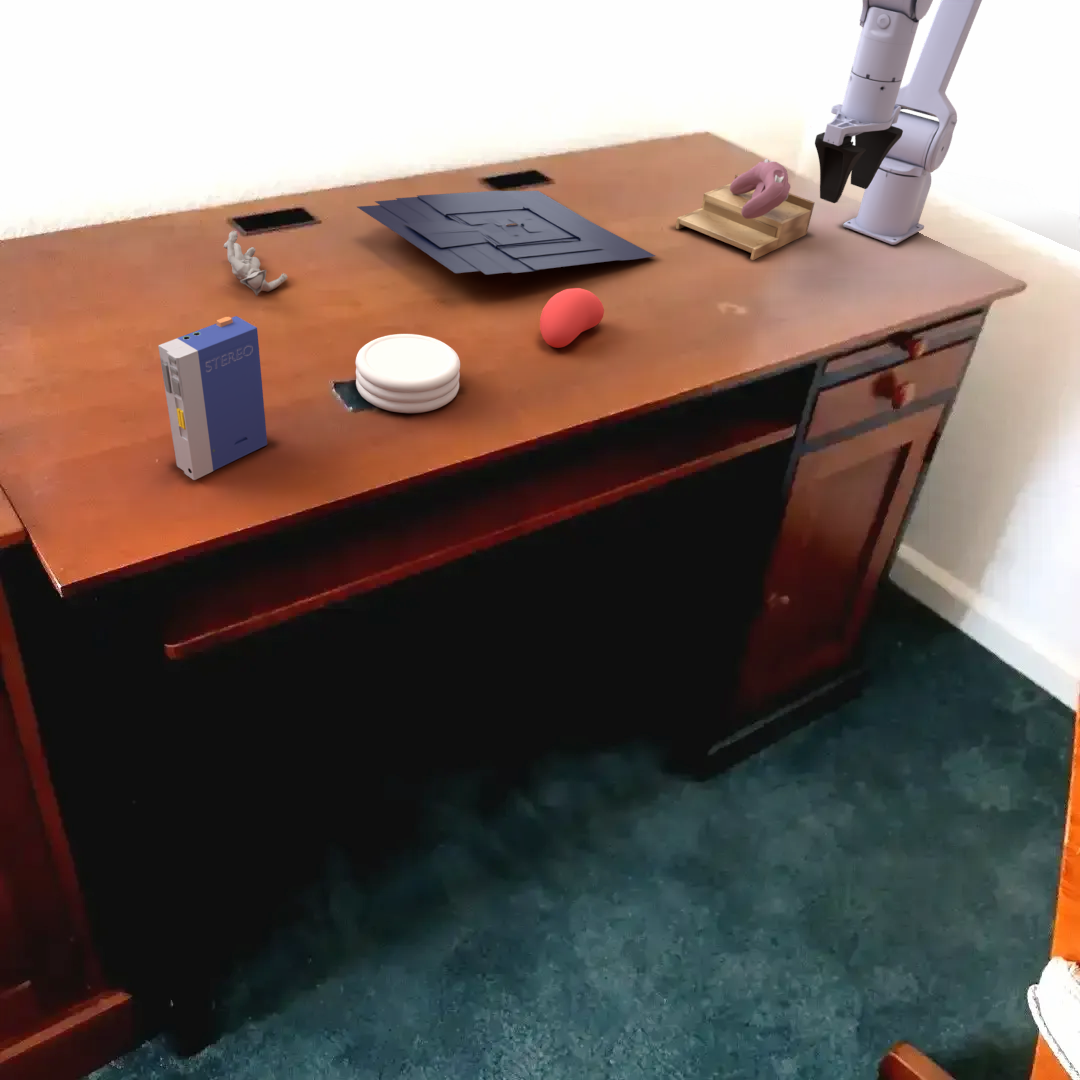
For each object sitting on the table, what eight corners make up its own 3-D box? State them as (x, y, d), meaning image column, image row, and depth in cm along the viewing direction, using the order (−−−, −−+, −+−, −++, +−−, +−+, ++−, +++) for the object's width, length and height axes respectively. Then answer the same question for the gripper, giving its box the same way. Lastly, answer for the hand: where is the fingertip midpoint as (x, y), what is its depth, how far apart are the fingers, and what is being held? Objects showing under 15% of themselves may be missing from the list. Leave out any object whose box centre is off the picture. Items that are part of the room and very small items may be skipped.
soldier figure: (276, 265, 124) (306, 277, 114) (251, 299, 124) (279, 313, 114) (221, 221, 120) (248, 229, 110) (195, 255, 120) (220, 266, 110)
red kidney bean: (520, 341, 116) (524, 309, 110) (575, 293, 119) (583, 260, 113) (554, 371, 115) (561, 341, 109) (609, 323, 118) (618, 290, 112)
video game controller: (766, 233, 138) (801, 188, 134) (739, 216, 136) (774, 169, 132) (751, 204, 145) (785, 160, 142) (725, 187, 144) (758, 142, 140)
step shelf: (730, 205, 150) (737, 173, 147) (806, 234, 144) (814, 202, 141) (675, 228, 141) (681, 195, 138) (753, 260, 135) (761, 226, 133)
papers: (346, 223, 130) (348, 193, 128) (532, 209, 148) (537, 183, 146) (461, 303, 116) (466, 272, 114) (652, 277, 134) (659, 249, 132)
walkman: (247, 432, 95) (235, 311, 88) (267, 445, 94) (257, 323, 87) (173, 467, 90) (153, 342, 83) (193, 481, 89) (175, 355, 82)
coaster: (413, 352, 109) (413, 322, 107) (479, 393, 104) (481, 361, 102) (335, 383, 103) (333, 351, 101) (401, 427, 98) (402, 395, 96)
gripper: (874, 56, 126) (843, 170, 134) (813, 75, 117) (784, 195, 125) (929, 72, 122) (894, 187, 131) (870, 92, 113) (837, 215, 122)
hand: (844, 193), depth 128 cm, fingers open, 7 cm apart
